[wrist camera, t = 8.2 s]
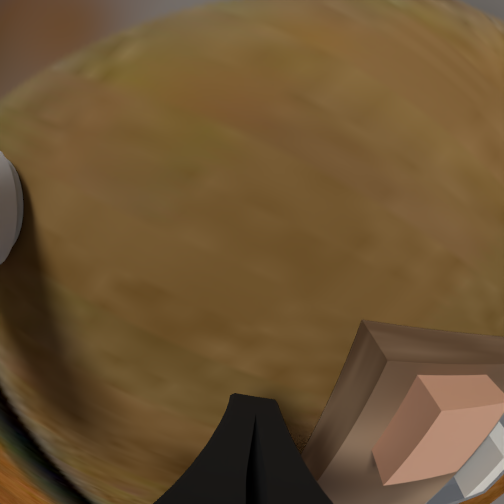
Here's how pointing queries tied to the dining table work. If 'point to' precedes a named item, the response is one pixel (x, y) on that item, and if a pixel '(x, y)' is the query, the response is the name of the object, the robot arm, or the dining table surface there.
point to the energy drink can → (9, 207)
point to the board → (388, 406)
